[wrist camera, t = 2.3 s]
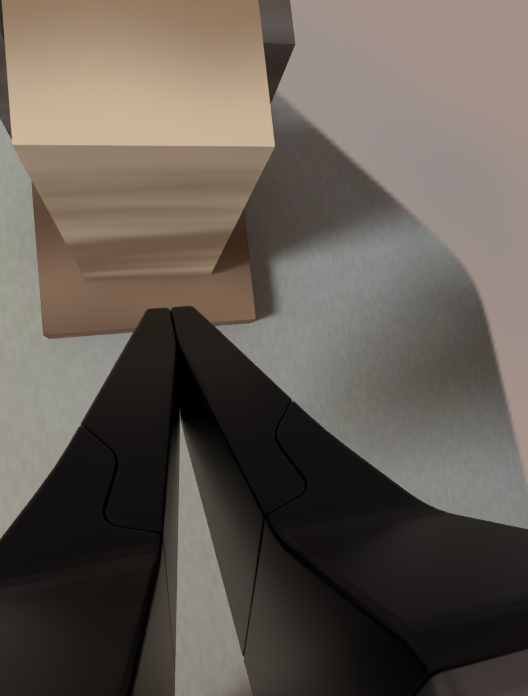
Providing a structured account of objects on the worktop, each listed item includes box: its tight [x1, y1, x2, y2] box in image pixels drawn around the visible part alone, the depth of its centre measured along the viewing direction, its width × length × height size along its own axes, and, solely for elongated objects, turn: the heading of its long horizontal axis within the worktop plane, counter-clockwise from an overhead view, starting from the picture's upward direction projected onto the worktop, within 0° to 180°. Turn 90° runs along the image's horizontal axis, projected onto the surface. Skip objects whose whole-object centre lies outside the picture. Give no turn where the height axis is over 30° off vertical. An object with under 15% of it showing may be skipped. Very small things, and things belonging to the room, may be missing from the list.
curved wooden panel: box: [2, 0, 275, 281], centre depth 15 cm, size 4×5×11 cm
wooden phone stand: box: [0, 0, 295, 339], centre depth 17 cm, size 8×9×10 cm
